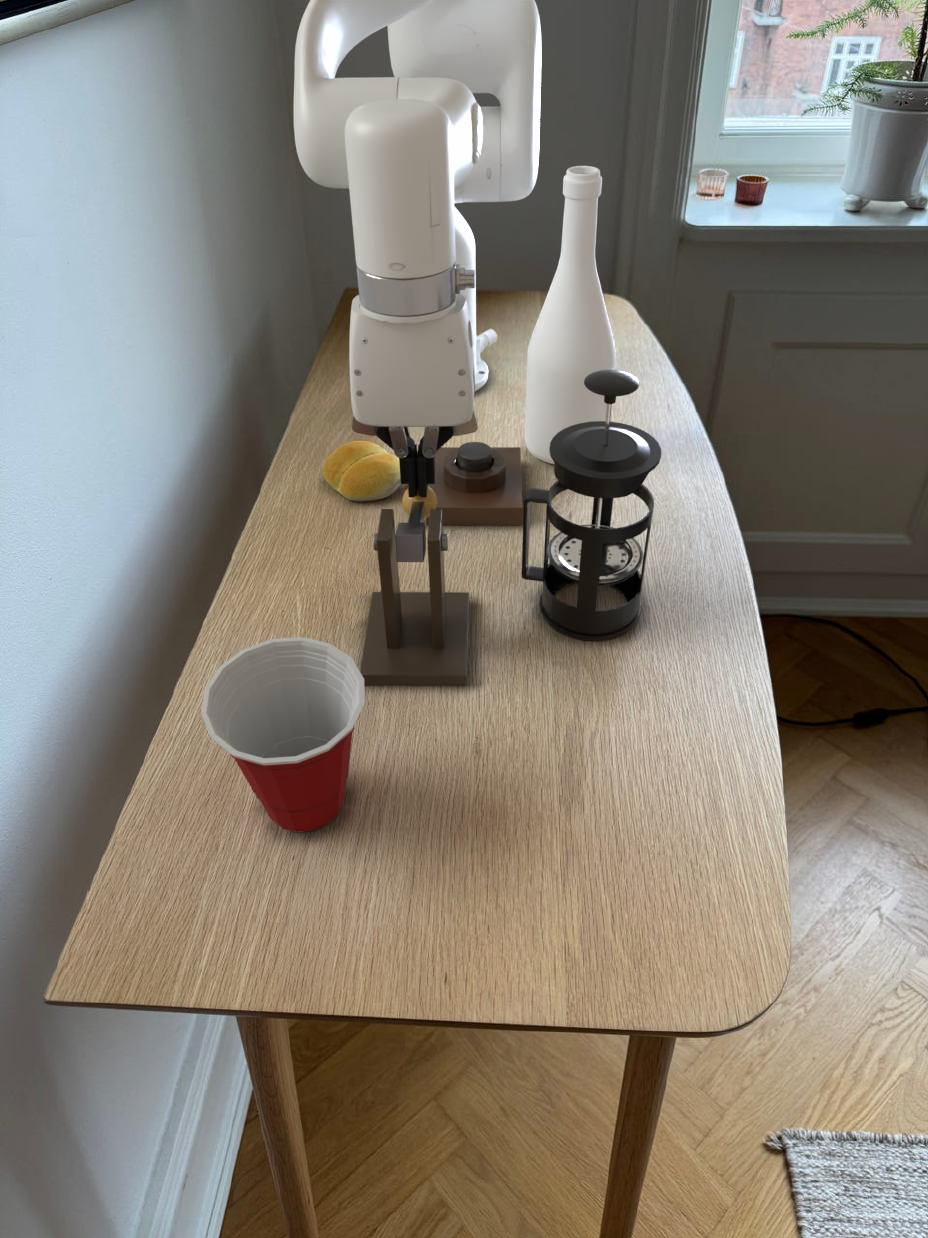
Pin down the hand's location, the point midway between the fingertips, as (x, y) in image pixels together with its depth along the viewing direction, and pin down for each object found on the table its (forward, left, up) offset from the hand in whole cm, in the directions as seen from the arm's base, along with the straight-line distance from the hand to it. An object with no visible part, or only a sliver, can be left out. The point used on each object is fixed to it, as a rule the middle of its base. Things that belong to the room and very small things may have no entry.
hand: (418, 488), depth 82 cm
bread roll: (-8, -16, -10) cm, 21 cm away
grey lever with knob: (+4, +3, -2) cm, 5 cm away
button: (-14, -5, -6) cm, 17 cm away
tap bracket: (+7, +6, -10) cm, 14 cm away
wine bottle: (-28, -3, -10) cm, 30 cm away
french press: (-6, +15, -10) cm, 19 cm away
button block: (-14, -5, -10) cm, 18 cm away
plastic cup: (+26, +12, -10) cm, 30 cm away
